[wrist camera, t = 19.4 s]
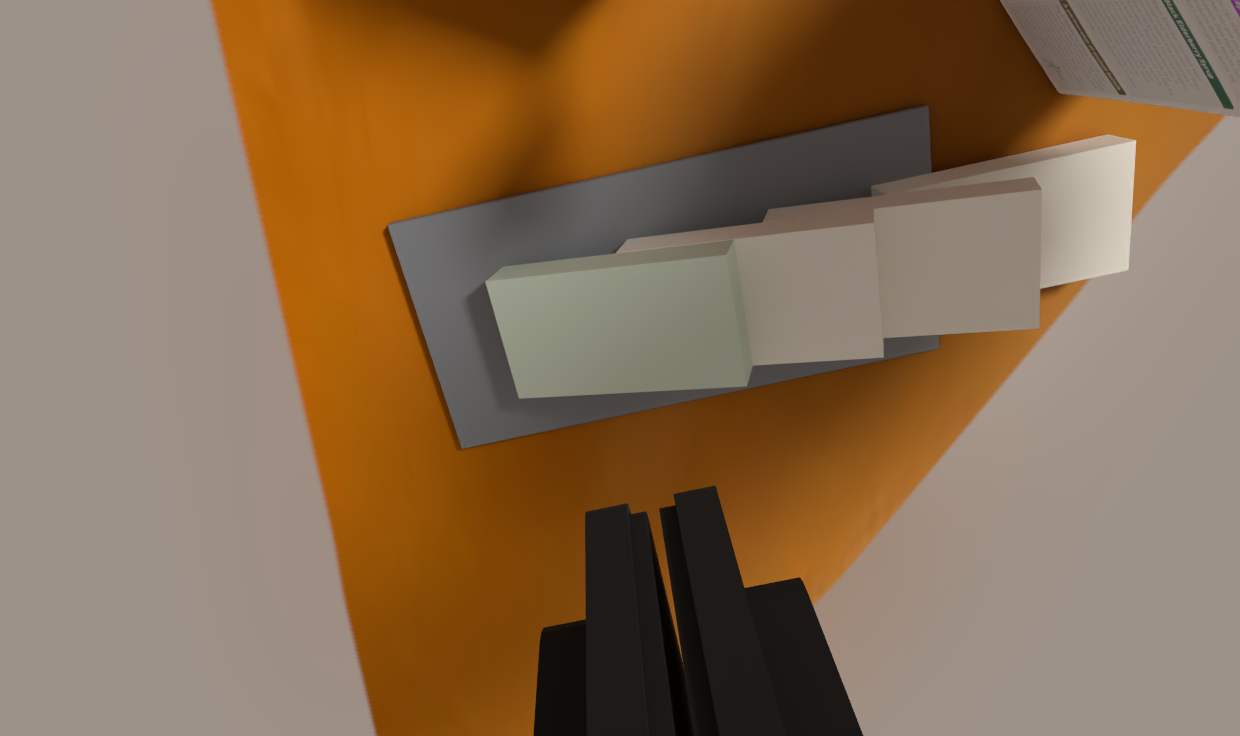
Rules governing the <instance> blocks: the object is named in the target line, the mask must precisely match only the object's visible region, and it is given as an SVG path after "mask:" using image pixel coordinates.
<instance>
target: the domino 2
mask: <svg viewBox="0 0 1240 736" xmlns="http://www.w3.org/2000/svg"><path fill="white" fill-rule="evenodd" d="M726 240H734V244H735V251H736V257H737V264H738V270H739V277H740V284H741V290H742V297H743V304H744V310H745V317H746V324H747V330H748V337H749V344H750V350H751V357H752V364H753V366H754V365H770V364H786V363H803V362H819V361H836V360H852V359H869V358H884V342H883V325H882V312H881V298H880V285H879V271H878V258H877V244H876V231H875V217H874V209H870V210H862V211H854V212H845V213H837V214H829V215H821V216H812V217H804V218H796V219H788V220H780V221H771V222H763V223H755V224H747V225H739V226H730V227H722V228H714V229H706V230H697V231H689V232H681V233H673V234H665V235H656V236H648V237H640V238H632V239H627V240H626V242H625V243H624V244H623V245H622V246H621V247H620V248H619V250H618V251H617V252H616V253H623V252H632V251H640V250H649V249H657V248H666V247H674V246H683V245H691V244H700V243H709V242H717V241H726Z"/></svg>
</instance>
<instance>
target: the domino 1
mask: <svg viewBox="0 0 1240 736" xmlns="http://www.w3.org/2000/svg"><path fill="white" fill-rule="evenodd" d="M485 283H486V286H487V290H488V293H489V297H490V300H491V304H492V307H493V310H494V314H495V317H496V321H497V324H498V328H499V331H500V335H501V338H502V342H503V345H504V348H505V352H506V355H507V359H508V362H509V366H510V369H511V373H512V376H513V380H514V383H515V387H516V390H517V393H518V397H519V399H522V398H540V397H559V396H578V395H597V394H615V393H634V392H653V391H671V390H690V389H709V388H728V387H746V386H747V384H748V381H749V377H750V374H751V370H752V367H753V364H752V357H751V350H750V344H749V337H748V330H747V324H746V317H745V310H744V304H743V297H742V290H741V284H740V277H739V270H738V264H737V257H736V251H735V244H734V240H726V241H717V242H709V243H700V244H691V245H683V246H674V247H666V248H657V249H649V250H640V251H632V252H623V253H614V254H606V255H597V256H589V257H580V258H572V259H563V260H555V261H546V262H537V263H529V264H520V265H512V266H503V267H502V268H501V269H499V270H498V271H497V272H496V273H495V274H494V275H492V276H491V277H490V278H489V279H488V280H486V281H485Z"/></svg>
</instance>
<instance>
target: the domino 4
mask: <svg viewBox="0 0 1240 736" xmlns="http://www.w3.org/2000/svg"><path fill="white" fill-rule="evenodd" d="M1135 151H1136V140H1132V139H1127V138H1122V137H1117V136H1113V135H1108V134H1107V135H1103V136H1098V137H1094V138H1089V139H1085V140H1080V141H1075V142H1071V143H1066V144H1062V145H1057V146H1052V147H1048V148H1043V149H1039V150H1034V151H1029V152H1025V153H1020V154H1016V155H1011V156H1006V157H1002V158H997V159H993V160H988V161H984V162H979V163H974V164H970V165H965V166H961V167H956V168H951V169H947V170H942V171H938V172H933V173H928V174H924V175H919V176H915V177H910V178H906V179H901V180H896V181H892V182H887V183H883V184H878V185H873V186H871V193H872V197H873V196H881V195H890V194H898V193H906V192H914V191H923V190H931V189H939V188H948V187H956V186H964V185H973V184H981V183H989V182H997V181H1006V180H1014V179H1022V178H1031V177H1034V178H1035V179H1036V181H1037V182H1038V184H1039V186H1040V187H1041V189H1042V217H1041V273H1040V289H1042V288H1047V287H1051V286H1056V285H1061V284H1065V283H1070V282H1075V281H1080V280H1084V279H1089V278H1094V277H1098V276H1103V275H1108V274H1113V273H1117V272H1122V271H1127V270H1128V268H1129V251H1130V234H1131V218H1132V201H1133V184H1134V167H1135Z"/></svg>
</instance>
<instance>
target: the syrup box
mask: <svg viewBox="0 0 1240 736" xmlns="http://www.w3.org/2000/svg"><path fill="white" fill-rule="evenodd" d="M1000 2H1001V3H1002V5H1003V7H1004V8H1005V10H1006V11H1007V13H1008V15H1009V16H1010V18H1011V19H1012V21H1013V23H1014V25H1015V26H1016V28H1017V29H1018V31H1019V33H1020V34H1021V36H1022V37H1023V39H1024V40H1025V42H1026V43H1027V45H1028V46H1029V48H1030V49H1031V51H1032V53H1033V54H1034V56H1035V57H1036V59H1037V60H1038V62H1039V64H1040V65H1041V67H1042V68H1043V70H1044V71H1045V73H1046V74H1047V76H1048V78H1049V79H1050V81H1051V82H1052V84H1053V85H1054V87H1055V88H1056V90H1057V92H1059V93H1061V94H1067V95H1076V96H1087V97H1096V98H1105V99H1112V100H1120V101H1128V102H1136V103H1143V104H1150V105H1158V106H1166V107H1173V108H1180V109H1188V110H1194V111H1201V112H1208V113H1215V114H1222V115H1228V116H1235V117H1240V0H1000Z"/></svg>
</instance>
